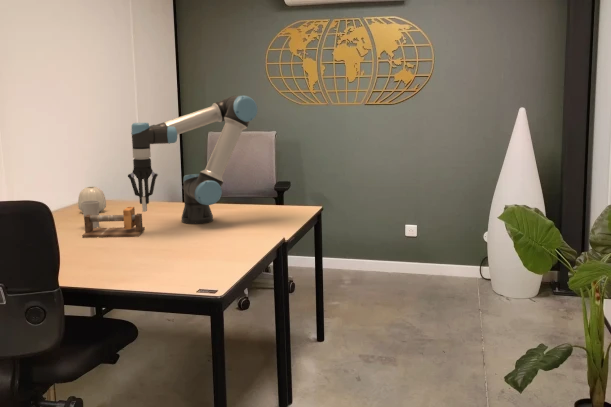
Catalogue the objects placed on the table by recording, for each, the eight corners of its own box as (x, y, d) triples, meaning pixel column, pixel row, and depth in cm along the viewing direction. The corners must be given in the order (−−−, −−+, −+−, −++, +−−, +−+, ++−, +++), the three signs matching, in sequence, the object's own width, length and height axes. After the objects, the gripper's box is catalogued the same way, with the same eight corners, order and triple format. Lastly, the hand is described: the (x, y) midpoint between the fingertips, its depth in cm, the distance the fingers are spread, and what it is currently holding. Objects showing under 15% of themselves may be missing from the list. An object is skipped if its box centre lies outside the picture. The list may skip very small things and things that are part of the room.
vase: (77, 215, 312) (75, 189, 310) (80, 210, 326) (78, 185, 323) (105, 214, 315) (103, 188, 313) (107, 209, 329) (106, 184, 326)
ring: (135, 225, 275) (134, 206, 273) (131, 229, 267) (130, 210, 265) (128, 225, 275) (127, 206, 273) (124, 229, 266) (123, 210, 265)
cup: (95, 229, 280) (93, 203, 278) (79, 228, 282) (77, 203, 280) (104, 225, 288) (102, 200, 286) (89, 224, 289) (87, 200, 287)
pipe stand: (144, 229, 278) (143, 211, 277) (138, 236, 265) (137, 217, 263) (91, 230, 277) (90, 212, 275) (82, 237, 263) (80, 218, 262)
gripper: (158, 157, 270) (161, 209, 274) (128, 157, 269) (131, 209, 273) (155, 158, 262) (158, 212, 266) (124, 159, 261) (128, 212, 266)
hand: (144, 211), depth 270 cm, fingers closed
